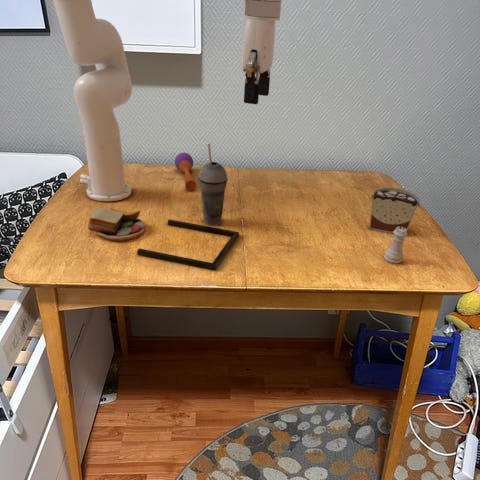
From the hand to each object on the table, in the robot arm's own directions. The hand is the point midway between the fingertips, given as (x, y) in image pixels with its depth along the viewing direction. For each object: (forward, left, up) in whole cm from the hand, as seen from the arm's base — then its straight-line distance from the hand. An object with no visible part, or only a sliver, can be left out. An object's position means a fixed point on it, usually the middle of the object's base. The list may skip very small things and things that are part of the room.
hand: (256, 99), depth 108 cm
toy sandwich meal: (-29, -19, -30) cm, 46 cm away
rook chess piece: (+38, -8, -30) cm, 49 cm away
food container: (+36, +10, -30) cm, 48 cm away
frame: (-10, -19, -30) cm, 37 cm away
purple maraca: (-27, +21, -30) cm, 46 cm away
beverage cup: (-9, -5, -30) cm, 32 cm away
